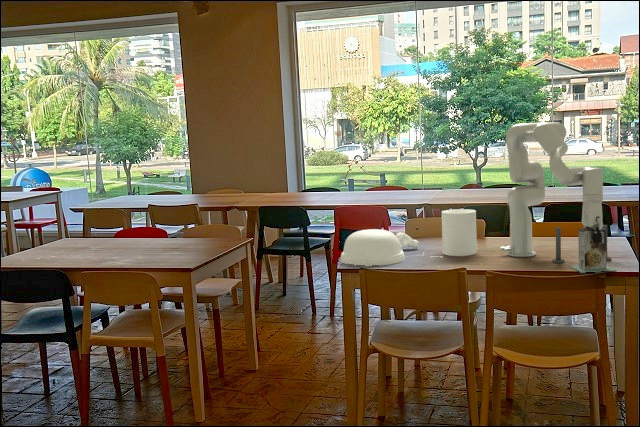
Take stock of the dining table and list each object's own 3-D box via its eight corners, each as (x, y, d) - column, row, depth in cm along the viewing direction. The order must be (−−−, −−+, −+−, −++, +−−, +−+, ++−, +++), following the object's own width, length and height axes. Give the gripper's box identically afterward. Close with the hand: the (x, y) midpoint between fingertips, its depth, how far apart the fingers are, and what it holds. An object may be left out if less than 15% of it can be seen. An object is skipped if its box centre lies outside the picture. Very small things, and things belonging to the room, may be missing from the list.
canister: (442, 250, 335) (441, 209, 333) (476, 249, 332) (475, 208, 330) (442, 256, 320) (441, 214, 317) (477, 255, 317) (476, 213, 314)
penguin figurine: (395, 231, 344) (418, 232, 344) (394, 248, 345) (417, 249, 345) (395, 233, 338) (420, 234, 337) (394, 250, 339) (418, 251, 339)
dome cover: (347, 253, 340) (346, 225, 338) (408, 253, 333) (407, 224, 331) (334, 266, 309) (332, 236, 307) (400, 266, 302) (399, 235, 300)
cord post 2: (601, 261, 292) (601, 226, 290) (596, 259, 297) (596, 224, 295) (613, 260, 292) (613, 225, 290) (608, 258, 297) (607, 224, 295)
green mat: (581, 273, 271) (581, 271, 271) (570, 267, 283) (570, 265, 283) (616, 271, 271) (616, 270, 271) (603, 265, 283) (603, 264, 283)
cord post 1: (554, 263, 292) (554, 228, 290) (550, 261, 297) (550, 227, 295) (566, 262, 292) (566, 228, 290) (562, 260, 297) (561, 226, 295)
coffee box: (600, 265, 281) (600, 226, 279) (606, 268, 274) (606, 229, 272) (578, 266, 281) (577, 228, 278) (584, 270, 274) (584, 230, 272)
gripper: (575, 196, 282) (575, 238, 284) (592, 201, 265) (592, 245, 267) (593, 195, 282) (593, 237, 284) (611, 200, 265) (611, 244, 267)
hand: (592, 240), depth 276 cm, fingers open, 8 cm apart
